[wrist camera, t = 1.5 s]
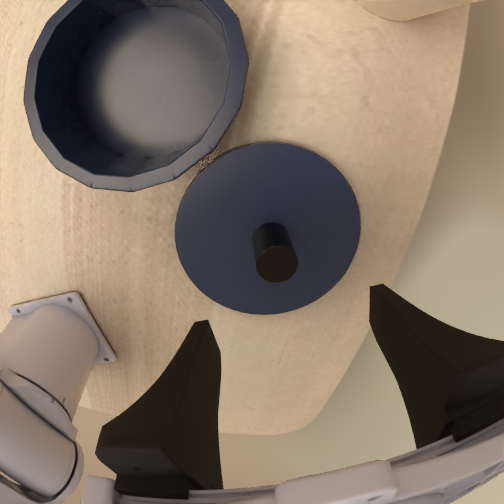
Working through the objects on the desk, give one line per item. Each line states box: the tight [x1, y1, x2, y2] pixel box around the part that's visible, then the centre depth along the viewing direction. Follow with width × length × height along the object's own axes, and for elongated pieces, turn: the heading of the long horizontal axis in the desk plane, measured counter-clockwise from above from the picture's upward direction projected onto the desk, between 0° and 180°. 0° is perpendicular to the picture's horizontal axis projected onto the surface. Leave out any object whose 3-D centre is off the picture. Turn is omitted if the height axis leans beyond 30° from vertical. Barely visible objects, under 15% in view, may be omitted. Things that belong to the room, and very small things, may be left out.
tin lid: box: [175, 142, 360, 315], centre depth 20 cm, size 13×13×5 cm
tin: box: [24, 0, 249, 192], centre depth 14 cm, size 12×12×5 cm
